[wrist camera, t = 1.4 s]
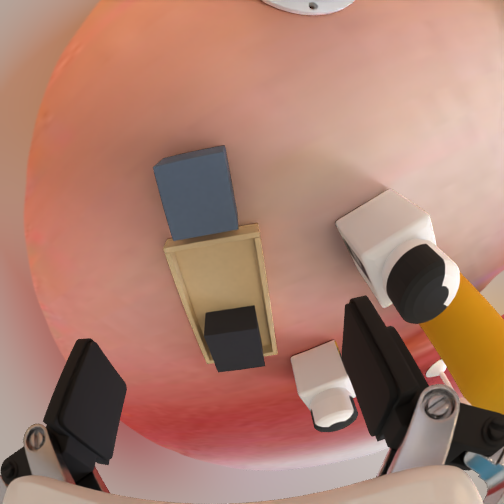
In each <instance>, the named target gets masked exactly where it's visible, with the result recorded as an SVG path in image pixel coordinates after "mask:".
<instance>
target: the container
mask: <svg viewBox="0 0 504 504" xmlns="http://www.w3.org/2000/svg"><path fill="white" fill-rule="evenodd" d="M336 227H337V228H338V230H339V232H340V234H341V236H342V238H343V240H344V242H345V244H346V246H347V248H348V250H349V253H350V255H351V257H352V259H353V261H354V263H355V265H356V267H357V269H358V271H359V272H360V274H361V275H362V277H363V278H364V280H365V281H366V283H367V284H368V286H369V288H370V289H371V291H372V292H373V294H374V295H375V297H376V298H377V300H378V302H379V303H380V305H381V306H382V307H383V308H386V307H388V306H390V305H391V304H394V306H395V307H396V309H397V310H398V312H399V313H400V315H401V317H402V318H403V319H404V320H405V321H406V322H409V323H414V324H420V323H425V322H428V321H430V320H432V319H434V318H435V317H437V316H438V315H439V314H441V313H442V312H443V311H444V310H445V309H446V308H447V307H448V306H449V304H450V303H451V302H452V300H453V299H454V297H455V295H456V293H457V291H458V288H459V283H460V272H459V268H458V266H457V265H456V263H455V262H453V261H452V260H451V259H450V258H449V257H448V256H447V255H446V254H445V253H444V252H443V251H442V250H440V249H439V248H438V247H437V246H436V241H435V236H434V231H433V227H432V223H431V219H430V215H429V214H428V213H427V212H425V211H424V210H423V209H421V208H420V207H418V206H417V205H415V204H414V203H412V202H411V201H409V200H408V199H407V198H405V197H403V196H402V195H400V194H399V193H397V192H396V191H394V190H393V189H388V190H386V191H385V192H383V193H381V194H380V195H378V196H376V197H375V198H373V199H372V200H370V201H368V202H367V203H365V204H363V205H362V206H360V207H358V208H357V209H355V210H353V211H352V212H350V213H348V214H347V215H345V216H343V217H342V218H340V219H338V220H337V221H336Z"/></svg>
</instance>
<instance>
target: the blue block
mask: <svg viewBox="0 0 504 504" xmlns="http://www.w3.org/2000/svg"><path fill="white" fill-rule="evenodd" d="M153 170H154V174H155V178H156V182H157V185H158V189H159V193H160V197H161V200H162V204H163V208H164V211H165V215H166V218H167V222H168V225H169V229H170V232H171V235H172V239H173V241H177V240H182V239H188V238H193V237H199V236H204V235H210V234H216V233H221V232H227V231H233V230H238V216H237V209H236V203H235V198H234V192H233V187H232V181H231V176H230V171H229V165H228V160H227V154H226V149H225V145H223V146H218V147H212V148H207V149H202V150H198V151H193V152H188V153H184V154H179V155H175V156H171V157H167V158H163V159H162V160H161V161H160V162H159V163H157V164H156V165H155V166H154V167H153Z"/></svg>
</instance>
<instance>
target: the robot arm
mask: <svg viewBox="0 0 504 504" xmlns="http://www.w3.org/2000/svg"><path fill="white" fill-rule="evenodd" d="M261 1H263V2H265V3H266V4H269V5H271V6H273V7H275V8H277V9H281V10H284V11H287V12H291V13H296V14H302V15H325V14H330V13H334V12H337V11H340V10H342V9H344V8H346V7H347V6H349V5H350V4H352V3H353V2H354V1H355V0H261ZM310 7H312V8H313V9H311V8H310ZM342 360H343V363H344V366H345V368H346V371H347V374H348V376H349V379H350V381H351V384H352V387H353V389H354V392H355V395H356V397H357V400H358V403H359V406H360V408H361V411H362V414H363V417H364V419H365V422H366V425H367V428H368V431H369V433H370V435H371V436H376V439H377V441H380V440H383V439H385V440H386V443H387V446H388V447H390V449H389V451H388V453H387V455H386V457H385V459H384V462H383V464H382V466H381V468H380V470H379V472H378V474H377V476H376V478H373V479H369V480H366V481H362V482H358V483H355V484H352V485H348V486H344V487H340V488H336V489H332V490H328V491H323V492H319V493H313V494H308V495H303V496H298V497H292V498H286V499H278V500H270V501H261V502H250V503H232V504H504V415H503V414H501V413H498V412H494V411H490V410H486V409H482V408H478V407H475V406H471V405H467V404H464V403H460V400H459V397H458V395H457V393H456V392H455V390H453V389H452V388H451V387H449V386H446V385H443V384H436V385H431V386H429V385H428V384H427V382H426V380H425V378H424V376H423V375H422V373H421V371H420V369H419V367H418V366H417V364H416V362H415V361H414V359H413V357H412V355H411V354H410V352H409V350H408V349H407V347H406V345H405V344H404V342H403V340H402V339H401V337H400V336H399V334H398V332H397V331H396V329H395V328H394V327H392V326H389V327H386V326H385V324H384V322H383V321H382V319H381V317H380V316H379V314H378V313H377V311H376V309H375V308H374V306H373V305H372V303H371V301H370V300H369V298H368V297H367V296H361V297H357V298H353V299H350V302H349V304H346V305H345V316H344V331H343V344H342ZM126 390H127V387H126V384H125V382H124V381H123V379H122V378H121V377H120V375H119V374H118V373H117V371H116V370H115V369H114V367H113V366H112V364H111V363H110V362H109V360H108V359H107V357H106V356H105V355H104V353H103V352H102V350H101V349H100V347H99V346H98V344H97V343H96V342H94V341H93V340H92V339H78V340H77V341H76V343H75V345H74V347H73V349H72V351H71V353H70V356H69V358H68V360H67V362H66V365H65V367H64V369H63V372H62V374H61V376H60V379H59V381H58V383H57V386H56V388H55V391H54V393H53V396H52V398H51V401H50V403H49V406H48V409H47V411H46V414H45V417H44V420H43V422H44V423H45V424H47V426H46V427H45V426H43V425H42V424H34V425H31V426H30V427H29V428H28V429H27V431H26V432H25V435H24V439H23V442H24V447H23V448H21V449H20V450H18V451H17V452H15V453H14V454H12V455H11V456H9V457H8V458H7V459H5V460H4V462H3V464H2V466H1V475H0V504H189V503H174V502H162V501H153V500H145V499H137V498H131V497H126V496H120V495H115V494H110V492H109V490H108V489H107V487H106V485H105V484H104V482H103V481H102V478H101V477H100V475H99V473H98V471H97V469H96V468H95V462H97V463H99V464H105V465H108V464H109V460H110V459H111V458H112V456H113V451H114V446H115V440H116V435H117V430H118V426H119V421H120V416H121V412H122V408H123V403H124V399H125V395H126ZM463 470H473V471H475V472H476V473H478V474H479V476H478V477H480V478H481V479H482V480H484V481H485V483H486V484H487V488H488V489H487V495H486V497H485V499H484V501H482V499H481V497H480V494H479V492H478V490H477V488H476V486H475V484H474V483H473V481H472V480H471V478H470V477H469V476H468V474H467V473H466V472H465V471H463ZM190 504H191V503H190Z"/></svg>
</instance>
